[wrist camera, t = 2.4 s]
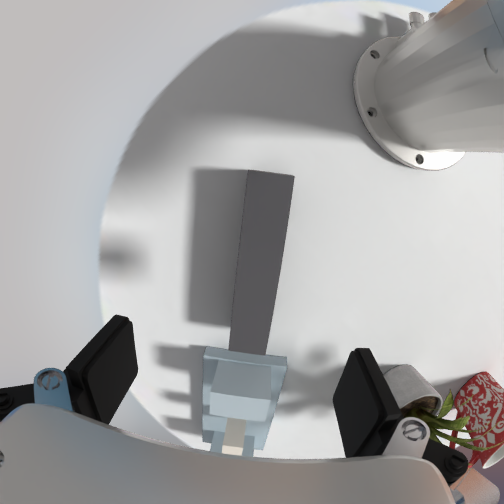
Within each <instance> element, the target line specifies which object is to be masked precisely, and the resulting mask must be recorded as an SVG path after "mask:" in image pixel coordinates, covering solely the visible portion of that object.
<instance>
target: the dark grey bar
mask: <svg viewBox="0 0 504 504" xmlns="http://www.w3.org/2000/svg"><path fill="white" fill-rule="evenodd" d="M294 177H295V176H292V175H287V174H280V173H272V172H265V171H257V170H248V177H247V185H246V193H245V202H244V210H243V219H242V228H241V236H240V245H239V254H238V263H237V272H236V282H235V291H234V301H233V310H232V320H231V330H230V340H229V350H228V351H234V352H241V353H248V354H255V355H264V356H265V354H266V348H267V343H268V338H269V332H270V327H271V322H272V316H273V310H274V305H275V299H276V293H277V288H278V282H279V276H280V270H281V264H282V257H283V251H284V245H285V239H286V232H287V226H288V219H289V212H290V205H291V198H292V191H293V184H294Z"/></svg>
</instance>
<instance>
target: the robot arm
mask: <svg viewBox="0 0 504 504" xmlns="http://www.w3.org/2000/svg"><path fill="white" fill-rule="evenodd" d="M428 17H429V20H428V21H427V22H425V23H424V17H423V15H422V14H420V13H418V12H411V13H409V20H410V25H411V29H410V30H409V31H408V32H407V33H406V34H404V35H403V36H402V37H397V36H396V37H387V38H384V39H381V40H379V41H376V42H375V43H374V44H372V45H371V46H370V47H368V48H367V50H366V51H365V52H364V53H363V54H362V56H361V58H360V59H359V61H358V63H357V66H356V69H355V73H354V84H353V87H354V95H355V101H356V104H357V108H358V111H359V114H360V116H361V118H362V120H363V122H364V124H365V126H366V128H367V129H368V131H369V132H370V134H371V135H372V137H373V138H374V140H375V141H376V142H377V143H378V144H379V145H380V146H381V147H382V149H383V150H384V151H386V152H387V153H388V154H389V155H391V156H392V157H393V158H394V159H396V160H398V161H399V162H401V163H403V164H404V165H407V166H409V167H412V168H415V169H420V170H431V171H437V170H442V169H446V168H448V167H450V166H452V165H454V164H456V163H457V162H458V161H459V160H460V159H461V158H462V157H463V155H464V154H465V153H466V152H499V153H504V0H453V1H451V2H450V3H449V4H448V5H446V6H445V7H444V8H443V9H441V10H440V11H439V12H438V13H430V14H429V16H428ZM372 57H373V58H372ZM367 111H369V112H370V113H371V116H369V114H368V112H367ZM415 158H417V161H416V159H415ZM137 373H138V365H137V358H136V350H135V342H134V333H133V324H132V322H131V321H129V318H128V317H125V316H120V315H114V316H113V317H112V318H111V320H110V321H109V322H108V323H107V324H106V325H105V326H104V327H103V328H102V329H101V330H100V331H99V332H98V333H97V334H96V335H95V336H94V337H93V339H92V340H91V341H90V342H89V343H88V344H87V345H86V346H85V347H84V348H83V349H82V350H81V351H80V353H79V354H78V355H77V356H76V357H75V358H74V359H73V360H72V361H71V363H70V364H69V365H68V366H67V367H66V369H65V370H64V371H63V372H62V371H61V370H59V369H56V368H46V369H43V370H41V371H40V372H38V373H37V374H36V376H35V377H34V383H33V384H27V385H21V386H15V387H8V388H1V389H0V504H497V503H498V501H499V498H500V492H499V489H498V488H497V487H496V486H495V485H494V484H493V483H491V482H490V481H489V480H487V479H486V478H485V477H484V476H482V475H481V474H480V473H478V472H477V471H476V470H475V469H473V468H471V469H470V470H469V469H468V460H467V458H466V457H465V455H464V454H463V453H461V452H459V451H457V450H455V449H452V448H450V447H448V446H445V445H443V444H441V443H439V442H437V441H435V440H432V439H430V438H429V437H430V430H429V427H428V426H427V424H426V423H425V422H424V421H422V420H420V419H418V418H415V417H408V418H404V417H403V415H402V413H401V410H400V408H399V406H398V404H397V402H396V400H395V398H394V396H393V394H392V392H391V390H390V387H389V385H388V383H387V381H386V380H385V378H384V376H383V374H382V372H381V370H380V368H379V366H378V364H377V362H376V360H375V358H374V356H373V354H372V352H371V351H370V349H369V348H356V349H355V350H354V351H351V353H350V355H349V358H348V360H347V363H346V366H345V368H344V371H343V373H342V376H341V378H340V381H339V383H338V386H337V388H336V391H335V393H334V396H333V404H334V408H335V413H336V417H337V421H338V425H339V429H340V434H341V438H342V443H343V447H344V452H345V456H346V458H334V459H276V458H261V457H249V456H239V455H231V454H224V453H217V452H211V451H205V450H199V449H194V448H189V447H185V446H180V445H175V444H171V443H167V442H163V441H159V440H155V439H152V438H148V437H145V436H141V435H138V434H135V433H132V432H128V431H125V430H122V429H119V428H116V427H113V426H110V425H109V423H110V421H111V419H112V418H113V416H114V414H115V412H116V410H117V409H118V407H119V405H120V403H121V402H122V400H123V398H124V396H125V395H126V393H127V391H128V390H129V388H130V386H131V384H132V383H133V381H134V379H135V378H136V376H137Z"/></svg>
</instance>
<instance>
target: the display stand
mask: <svg viewBox="0 0 504 504" xmlns="http://www.w3.org/2000/svg"><path fill="white" fill-rule="evenodd" d="M286 369H287V357H280V356H271V355H265V356H264V355H255V354H248V353H241V352H234V351H228V350H226V349H220V348H214V347H208V346H207V347H206V350H205V353H204V359H203V415H202V431H203V442H207V443H212V444H211V449H210V451H211V452H217V453H224V454H231V455H239V456H249V457H253V452H254V449H257V450H263V448H264V445H265V442H266V439H267V435H268V432H269V429H270V426H271V422H272V419H273V416H274V412H275V409H276V406H277V402H278V399H279V395H280V391H281V388H282V384H283V381H284V377H285V373H286Z"/></svg>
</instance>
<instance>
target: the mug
mask: <svg viewBox="0 0 504 504" xmlns="http://www.w3.org/2000/svg"><path fill="white" fill-rule="evenodd" d="M473 394H474V395H473ZM472 395H473V396H472ZM471 396H472V398H471V399H470V400H469V401H468V402H467V403H466V404H464V405H462V404H463V403H465V402H466V401H467V400H468V399H469V398H470V397H471ZM454 405H455V407H456V409H457V411H458V412H457V416H456V419H458V418H461V417H462V418H464V417H467V416H470V418H469V420H468V422H467V424H466V425H465V427H466V429H467V430H470V431H473V430H478V431H476V432H470V433H469V435H470V437H471V439H473V438H478V437H480V436H482V435H484V434H485V433H487V432H488V431H489V430H490V429H492V428H493V427H494V426H495V425H496V424H497V423H498V422H499V421H500V422H499V423H498V424H497V425H496V426H495V427H494V428H493V429H492V430H491V431H489V432H488V433H487V434H485V435H484V436H482V437H480V438H479V439H476V440H474V441H473V444H474V446H476V447H482V448H486V447H492V446H495V445H497V444H499V443H501V442H502V443H501V444H499V445H497V446H495V447H493V448H491V449H488V450H483V451H478V450H473V455H472V458H471V460H470V462H469V464H472V465H468V468H471V467H472V466H473V465H474V464H475V463H476V462H477V460H478V459H481V462H482V468H488V467H490V466H492V465H493V464H495V463H496V462H498V461H499V460H501V459H502V458H503V457H504V442H503V441H504V389H503V388H502V387H501V386H500V385H499V384H498V383H497V382H496V381H495V380H494V378H493V377H492V376H491V375H490V374H489V373H487V372H481V373H479V374H477V375H475V376H474V377H473V378H471V379H470V380H469V381H468V382H467V383H466V384H465V385H464V386H463V387H462V388H461V390H460V391H459V392H458V394H457V396H456V398H455V401H454ZM460 405H462V406H460ZM457 406H460V407H457ZM492 419H493V420H492ZM501 419H502V420H501ZM491 420H492V421H491ZM490 421H491V422H490ZM489 422H490V423H489ZM488 423H489V424H488ZM487 424H488V425H487ZM486 425H487V426H486ZM484 426H485V427H484ZM483 427H484V428H483ZM481 428H482V429H481ZM479 429H481V430H479ZM457 434H458V431H456V430H453V431H452V435H451V436H452V437H456V438H457ZM455 444H456V443H454V442H452V441H450V445H449V447H450V448H452V449H455Z"/></svg>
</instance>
